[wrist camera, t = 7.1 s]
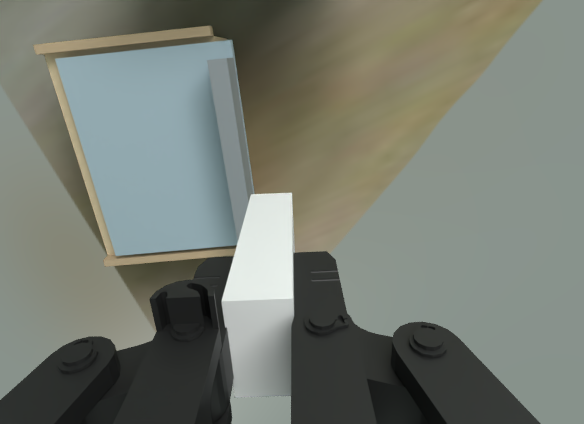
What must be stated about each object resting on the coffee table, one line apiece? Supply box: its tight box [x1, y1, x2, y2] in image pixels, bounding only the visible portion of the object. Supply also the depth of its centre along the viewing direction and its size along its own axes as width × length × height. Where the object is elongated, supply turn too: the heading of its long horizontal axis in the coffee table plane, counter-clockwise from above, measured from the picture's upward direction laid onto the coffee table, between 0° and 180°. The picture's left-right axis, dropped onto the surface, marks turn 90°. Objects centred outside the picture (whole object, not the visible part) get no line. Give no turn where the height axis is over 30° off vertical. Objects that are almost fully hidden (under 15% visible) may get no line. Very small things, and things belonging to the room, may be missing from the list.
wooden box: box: [33, 26, 237, 267], centre depth 32 cm, size 17×12×7 cm
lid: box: [55, 40, 254, 256], centre depth 28 cm, size 15×12×4 cm
